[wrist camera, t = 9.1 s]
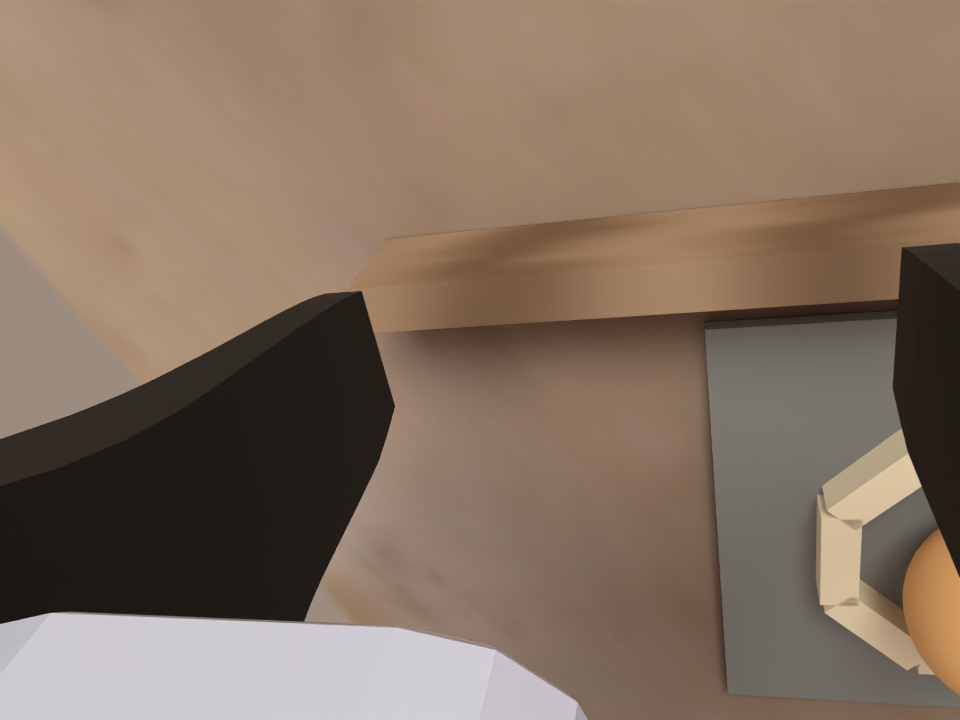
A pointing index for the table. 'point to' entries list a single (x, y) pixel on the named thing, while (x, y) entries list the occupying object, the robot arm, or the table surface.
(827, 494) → the cradle
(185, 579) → the robot arm
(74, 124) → the table surface
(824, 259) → the fence
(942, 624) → the ball
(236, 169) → the table surface
